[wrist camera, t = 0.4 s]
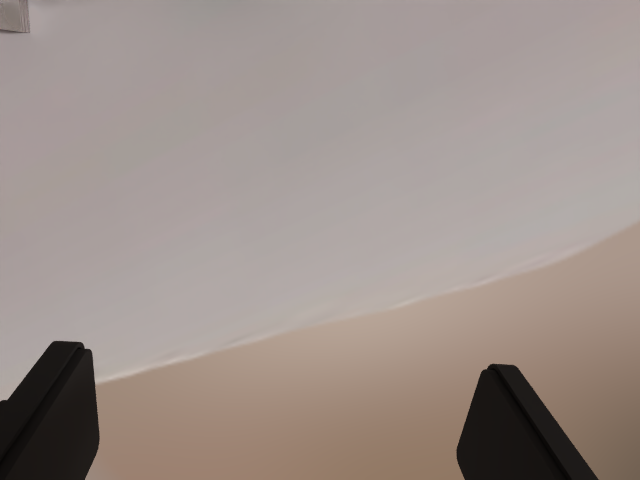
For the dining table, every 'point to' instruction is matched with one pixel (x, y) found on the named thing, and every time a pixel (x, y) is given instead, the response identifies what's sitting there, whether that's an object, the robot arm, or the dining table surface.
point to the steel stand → (14, 15)
